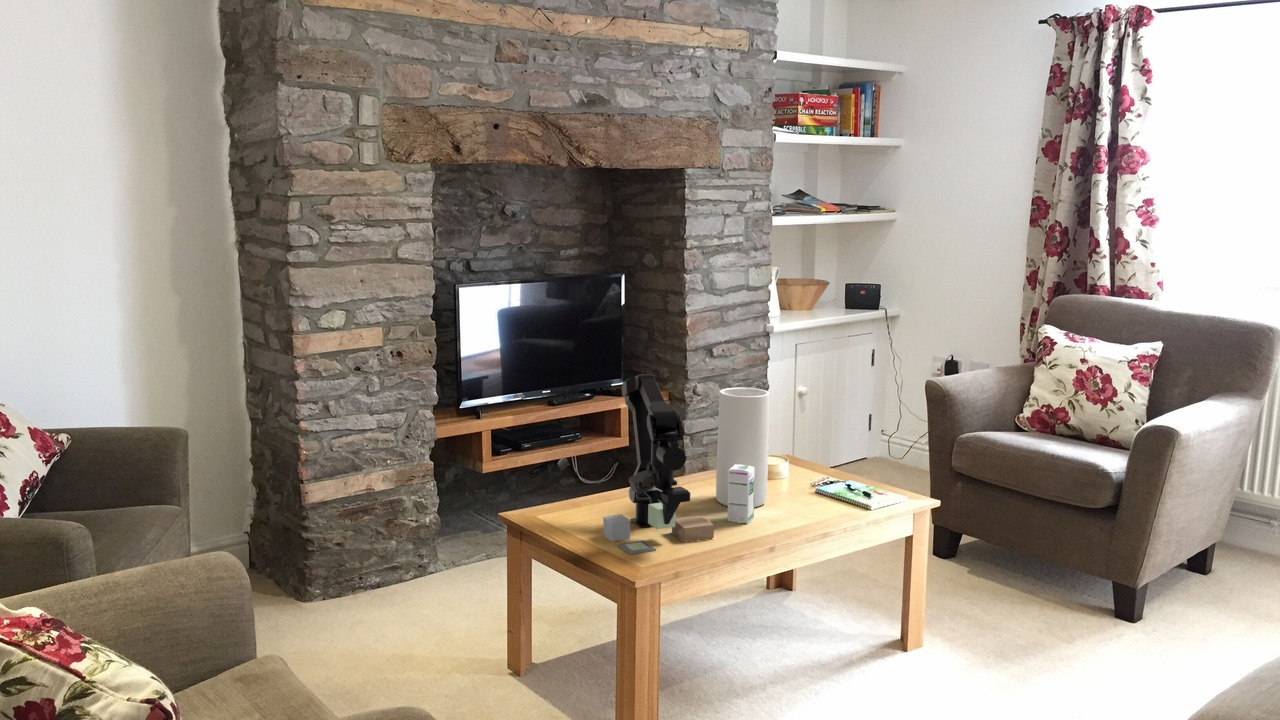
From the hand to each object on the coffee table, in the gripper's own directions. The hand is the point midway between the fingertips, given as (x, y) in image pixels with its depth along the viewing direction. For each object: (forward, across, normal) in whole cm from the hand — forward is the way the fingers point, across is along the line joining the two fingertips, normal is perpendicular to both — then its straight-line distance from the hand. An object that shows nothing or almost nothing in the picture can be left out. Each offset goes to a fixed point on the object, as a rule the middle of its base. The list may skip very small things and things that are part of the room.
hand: (661, 521), depth 256 cm
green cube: (+1, 0, 0) cm, 1 cm away
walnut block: (+5, 0, +9) cm, 10 cm away
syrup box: (+5, -6, +27) cm, 28 cm away
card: (+5, +2, -8) cm, 10 cm away
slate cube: (+5, -7, -9) cm, 13 cm away
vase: (+5, -20, +36) cm, 42 cm away
